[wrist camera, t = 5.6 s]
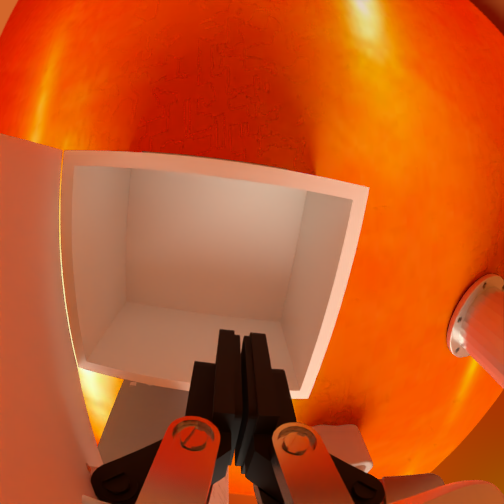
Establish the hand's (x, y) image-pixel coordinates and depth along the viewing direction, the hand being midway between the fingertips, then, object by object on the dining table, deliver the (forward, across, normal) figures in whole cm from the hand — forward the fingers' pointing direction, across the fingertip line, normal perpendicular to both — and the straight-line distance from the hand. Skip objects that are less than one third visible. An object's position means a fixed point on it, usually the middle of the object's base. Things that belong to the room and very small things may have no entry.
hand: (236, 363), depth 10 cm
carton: (+15, +2, 0) cm, 15 cm away
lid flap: (-2, +6, 0) cm, 6 cm away
